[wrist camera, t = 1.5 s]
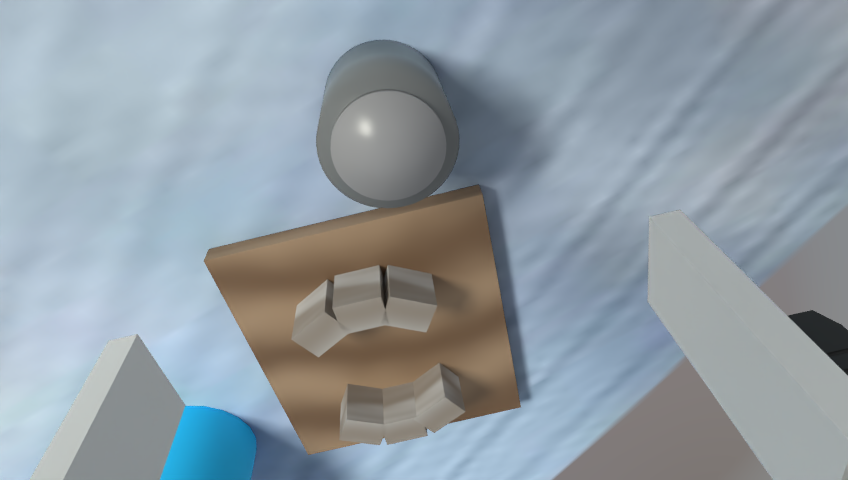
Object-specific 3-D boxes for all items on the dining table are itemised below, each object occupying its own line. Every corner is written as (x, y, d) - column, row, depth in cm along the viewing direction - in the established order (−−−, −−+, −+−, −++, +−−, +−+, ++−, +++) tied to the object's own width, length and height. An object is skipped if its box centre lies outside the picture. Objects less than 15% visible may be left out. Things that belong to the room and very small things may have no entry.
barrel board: (208, 249, 32) (189, 293, 28) (478, 184, 31) (493, 221, 28) (309, 441, 41) (304, 492, 38) (516, 394, 41) (531, 441, 37)
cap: (308, 56, 27) (294, 97, 21) (428, 26, 26) (445, 60, 21) (344, 166, 30) (340, 226, 24) (451, 139, 30) (471, 194, 24)
